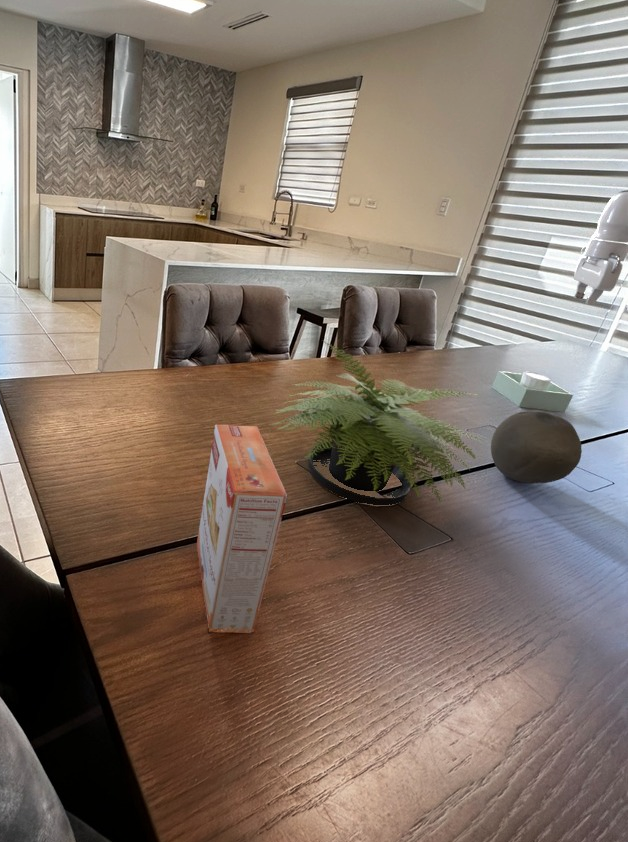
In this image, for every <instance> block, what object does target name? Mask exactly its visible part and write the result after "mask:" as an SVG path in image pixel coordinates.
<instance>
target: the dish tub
mask: <svg viewBox="0 0 628 842" xmlns="http://www.w3.org/2000/svg"><path fill="white" fill-rule="evenodd" d="M522 375H523V373H519V372H510V371H504V370H503V371H501V370H498V372H497V374H496V377H495V379H494V381H493V384H492V386H491V388H492V389H494V390H495V391H496V392H497V393H499V394H500V395H502V396H503V397H505V398H506V399H507V400H509V401H511V403H512V404H514V405H516V406H517V407H518V408H525V409H526V408H527V409H533V410H542V411H553V412H559V413H560V412H561V413H566V411H567V409H568V407H569V405H570V402H571V401H572V399H573V397H574V394H573V393H571V392H570V391H568V390H566V389H565V388H563V387H561V386H560V385H558V384H556V383H554V382H552V381H551V382H550V384H549V385H548V387H547V388H546V390H545V391H543V390H535V389H527V388H526V387H524V386H523V385H521V384H520V381H521V378H522Z"/></svg>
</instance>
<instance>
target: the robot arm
mask: <svg viewBox="0 0 628 842" xmlns="http://www.w3.org/2000/svg"><path fill="white" fill-rule="evenodd" d="M580 255H581V256H580V258H579V259H578V263H577V265H576V268H575V270H574V274H573V280H574V281H577V285H576V291H575V294H574V298H575V299H579V300H583V299H584V297H585V296H586V290H587V288H588V287H590V288H592V289H591V293H590V294H589V296H587V297H586V300H585V302H584V303H585V304H586V305H589V306H594V305H596V303H597V301H598V299H599V298H600V297H601V296H602V295H603V294H604V292H612V291H613V290H614V289H615V287H616V285H617V282H618V280H619V279H620V275H621V273H622V270H623V263H622V262H625V260H626V258H627V257H628V189H625V190H622V191H621V190H620V191H618V192H617V193H615V194H614V195H613V196H612V197H611V198H610V199H609V201H608V202H607V204H606V206H605V207H604V209H603V212H602V214H601V216H600V218H599V220H598V222H597V229H596V231H595V232H594V234H592V236H591V238H590V240H589V242H588V243H587V244H586V245H584V246H583V247H582V249H581V250H580Z"/></svg>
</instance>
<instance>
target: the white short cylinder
mask: <svg viewBox="0 0 628 842" xmlns="http://www.w3.org/2000/svg"><path fill="white" fill-rule="evenodd" d="M522 374H523V375H522V378H521V381H520V384H521V385H523V386H524V387H526V388H527V389H535V390H543V391H545V390H546V388H547V387H548V385H549V384H550V382H552V379H551V378H550V377H548V376H546V375H543V374H540V373H537V372H532V371H523V372H522Z"/></svg>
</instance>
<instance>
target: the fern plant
mask: <svg viewBox="0 0 628 842" xmlns="http://www.w3.org/2000/svg"><path fill="white" fill-rule="evenodd" d="M323 343H324V344H325V345H326V346H328V348H330V347H331V348H330V350H332V354H333V355H334V358H335V359H336V360H338V361H340V362H343V363H341V364H340V363H339V366H340V367H343V368H344V369H343V370H344V371H345V372H347V373H344V372H342V373H341V374H339V375H337V374H336V375H335V376H336V377H338V378H341V379H345V380H346V381H347V380H349V381H353V382H354V383H355V384H356V385H355V386H352V385H351V386H350V385H347V386H346V385H339V384H336V383H335V384H334V382H328V381H326V380H323V381H324V382H323V381H320V380H317V381H312V380H309V382H308V381H303V382H301V383H292V385H294V386H297V387H298V386H300V387H301V386H303V387H305V386H307V387H311V388H312V389H313V388H317V389H316V390H307V391H306V392H303V391H302V392H299V393H296V394H295V396H297V395H299V396H301V395H302V396H304V397H299V399H293V400H292V401H291V400H289V403H292V402H293V403H294V402H295V403H296V404H292V405H287V406H285V407H284V408H282V409H276V414H279V413H280V414H281V413H284V412H288V411H291V412H292V411H297V412H299V413H300V414H299V413H296V414H293V415H292V417H291V416H287V417H285V419H282V420H279V421H278V422H273V425H277V424H282V422H285V423H287V422H289V424H284V425H283V426H281V427H279V428H278V430H283V429H284V430H285V431H290V430H291V431H294V430H296V431H297V430H298V428H300V429H301V428H302V427H303V428H306V427H308V428H307V431H314V430H317V428H318V429H319V430H321V429H322V430H323V431H324V432H319V431H317V436H319V437H317V438H316V439H313V441H314V442H315V443H316V444H315V443H311V444H310V445H311V446H309V448H311V449H310V450H309V451H308V454H307V455H305V456H304V459H307V458H308V464H307V468H308V467H309V468H308V470H309V469H310V470H309V472H310V471H311V472H310V474H311V477H312V478H313V479H315V481H316V482H318V484H320V486H321V487H322V488H324V487H325V488H327V489H328V490H327V489H326V490H327V491H329V490H330V491H332V492H333V493H332V492H331V493H332V494H334V493H335V494H337V495H338V496H341V497H344V498H347V499H349V500H352V501H354V502H357V503H358V502H359V503H367V504H373V505H389V504H390V505H392V504H396V503H399V502H402V501H403V502H404V501H405V499H406V498H407V496H408V495H409V492H410V491H411V489H412V488H413V490H414V491H415V493H416V495H417V498H420V492H421V489H420V487H421V486H420V485H418V484H416V483H418V480H419V481H421V480H422V481H423V480H426V481H425V482H424V485H427V489H429V488H430V487H432V488H431V492H432V493H433V495H434V496H436V498H437V500H438V502H439V503H441V499H442V497H441V494H440V493H439V492H440V490H438V489H436V488H437V485H435V486H434V484H435V481H434V480H433V474H432V472H434V473H436V472H437V470H438V476H439V477H441V478H443V480H444V481H445V483H446V484H447V486H449V485H448V484H450V487H451V488H452V487H453V484H454V478H455V481H456V482H458V483H459V484H460V485H461V486H462V487H463V488H464V490H465V491H466V487H465V486H466V485H465V481H464V479H463V477H462V476H460V475H461V473H458V470H457V469H455V467H454V465H453V464H452V463H451V461H450V460H453V458H454V461H456V462H457V463H461V465H463V466H465V467H466V468H467V469H468V470H469V471H471V469H470V468H469V466H468V465H467V464H466V463H465V462H464V461H463V459H460V458H458V456H457V454H455V453H454V452H453V451H452V450H454V448H453V447H455V448H457V450H459V448H460V449H461V450H462V451H463V452H466V454H469V455H470V456H471V457H472V458H473V459H474V460H476V459H477V457H476V455H475V453H474V452H473V451H472V450H473V449H472V448H469V447H468V445H465V442H464V441H463V440H462V439H461V438H462V437H463V435H464V436H465V437H466V439H470V440H474V441H477V442H479V443H481V444H483V445H485V446H487V444H486V443H485V442H483V441H482V440H480V439H478V438H477V436H475V437H473V434H469V433H467V432H465V431H463V430H462V429H461V428H459V427H457V426H456V425H454V426H450V425H451V423H449V422H444V421H442V420H440V419H438V418H432V417H430V416H431V415H429V414H423V412H422V410H419V411H418V408H416V409H412V407H411V406H413V407H414V406H415V405H419V403H425V402H427V401H431V400H432V399H433V400H437V401H438V400H441V399H440V397H441V398H447V399H449V398H450V397H458V398H459V396H466V395H468V396H473V395H474V396H477V393H471V392H467V391H465V392H464V391H461V390H460V391H459V390H452V389H451V390H450V389H446V388H443V390H442V391H441V392H440V388H434V389H432V390H431V391H429V389H428V388H425V387H424V388H423V389H421V388H416V387H414V388H413V387H411V386H408V388H407V386H406V383H405V382H403V381H400V380H398V379H389V378H388V379H384V380H379V381H378V383H379V384H380V385H381V387H380V386H379V385H376V383H375V382H376V381H375V380H376V379H375V378H370V376H371V375H372V374H371V372H367V367H365V364H363V365H361V366H360V364H361V363H362V362H361V360H359V359H353V354H350V353H346V352H345V350H344V349H339V347H338V346H336V345H334V346H332V344H330V343H329V342H326V341H325V340H323ZM336 356H338V357H336ZM341 357H342V358H341ZM351 374H352V375H351ZM353 375H354V376H355V377H354V376H353ZM369 378H370V379H369ZM375 386H377V387H378V389H377V388H375ZM382 386H383V387H382ZM325 387H327V388H326V389H325ZM311 388H310V389H311ZM379 388H380V389H379ZM349 389H350V390H349ZM355 392H358V393H355ZM307 395H309V397H308V396H307ZM291 396H292V397H293V394H291V395H290V397H291ZM313 396H315V397H313ZM285 403H287V401H285V402H284V404H285ZM412 403H413V404H412ZM414 404H415V405H414ZM404 406H407V407H404ZM409 406H410V407H409ZM426 416H429V417H426ZM289 425H290V427H289ZM449 426H450V427H449ZM320 427H321V428H320ZM440 436H441V438H440ZM450 443H451V444H452V445H453V447H452V446H451V445H450ZM467 447H468V448H467ZM451 449H452V450H451ZM448 457H449V458H448ZM327 459H330V460H327ZM313 460H316V461H313ZM317 460H321V461H320V462H321V464H324V465H325V463H326V464H328V463H329V462H327V461H330V464H329V471H330V473H331V474H332V476H333V477H334V478H335V479H337V480H338V481H339V482H341V483H343V484H344V485H346V486H348V487H351V488H354V489H357V490H364V491H379V490H382V489H383V488H384V487H385V486H386V484H387V482H388V480H389V478H390V476H391V474H392V473H393V474H394V475H396V477H397V478H398V479H399V480H400V482H401V483H402V487H401V488H399V489H396V490H395V491H392V492H393V494H392V492H390V493H387V496H390V495H392V497H393V496H394V497H395V498H394V497H393V498H375V497H370V496H365V495H360V494H357V493H354V492H352V491H349V490H346V489H344V488H341V487H339V486H338V485H336V484H334V483H333V482H331V481H329V480H328V479H326V478H325V477H324V476H323V475H322V474H321V473H320V472H318V471H317V470H316V469H315V467H314V466H317V465H313V462H319V461H317ZM324 461H325V462H324ZM429 464H431V466H430V465H429ZM324 465H322V466H324ZM325 467H327V466H325ZM421 467H422V468H421ZM423 467H424V468H423ZM426 468H429V469H431V471H430V470H428V469H426ZM433 468H434V471H433ZM454 469H455V470H454ZM415 472H417V473H416V476H415ZM416 478H418V479H416ZM416 480H417V481H416ZM325 488H324V489H325ZM330 491H329V492H330ZM335 494H334V495H335ZM337 495H336V496H337ZM338 496H337V497H338ZM341 497H340V498H341ZM405 497H406V498H405ZM344 498H343V499H344ZM349 500H348V501H349ZM354 502H353V503H354ZM403 502H402V503H403ZM399 504H400V503H399Z"/></svg>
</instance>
